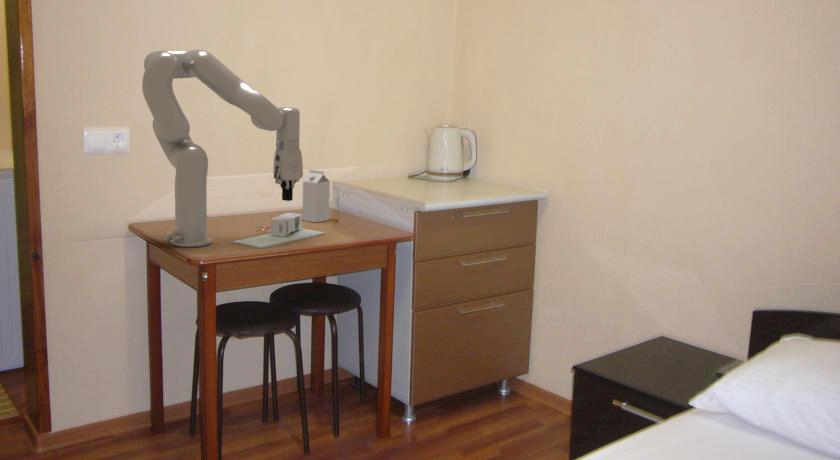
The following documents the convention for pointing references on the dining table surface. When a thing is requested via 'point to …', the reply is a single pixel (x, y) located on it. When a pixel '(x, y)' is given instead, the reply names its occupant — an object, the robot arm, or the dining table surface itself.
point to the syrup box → (286, 224)
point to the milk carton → (316, 197)
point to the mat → (277, 239)
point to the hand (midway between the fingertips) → (287, 200)
